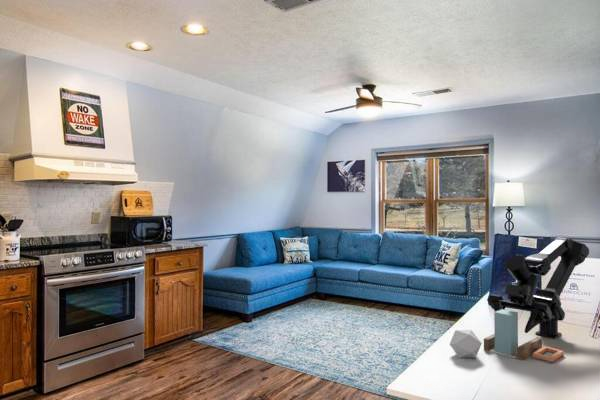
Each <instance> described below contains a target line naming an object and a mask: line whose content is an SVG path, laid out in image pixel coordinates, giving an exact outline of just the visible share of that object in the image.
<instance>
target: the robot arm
mask: <svg viewBox="0 0 600 400" xmlns="http://www.w3.org/2000/svg"><path fill="white" fill-rule="evenodd" d="M589 255H590V249H589V247H588V246H587V245H586V243H581V242H579V241H576V240H573V239H572V238H570V237H563V236H560V237H554V239H553V241H552V242H550V244H548V245H547V246H546V247H545V248H543V250H541V251H540V252H537V253H534V254H530V255H528V256H527V257H525V256H524V255H522V254H516V255H515V256H513V257H511V258H509V259H507V260H506V262H505V269H507V271H508V272H509V273H510V276H512V277H513V279H514V280H516V281H517V282H516V284H510V283H506V284H505V287H504V294H505V295H507V299H508V300H504V298H503V296H501V295H498V294H492V293H491V294H489V295H488V296H487V299H486V302H488V304H489V306H490V307H491V309H493V310H494V312H496V311H499V310H501V309H503V310H506V308H511V309H516V310H519V311H525V312H530V313H529V314H530V315H529V318H528V320H527V322H526V325H525V328H524V333H525V334H528V333H529V332H530V331H532V329H534V328H535V327H536V326H538V327H539V329H538V330H537V331H535V335H538V336H543V337H547V338H552V339H557V338H558V337H560V336H562V332H559V324H558V323H559V321H561V322H562V321H564V319H565V317H566V312H565V311H564V309H563V308H562V303H561V298H560V296H561V294H562V293H563V290H564V288H565V286H566V285H567V283H568V281H569V279H570V277H571V275H572V273H573V272H574V269H576V266H578V265H580V264H582V263H584V261H586V259H587V258H588V257H589ZM559 257H560V261H559V262H558V264H557V266H556V268H555V270H554V272H553V273H552V275H551V277H550V279H549V281H548V283H546V286H545V288H543V289H542V288H537V287H540V286H541V282H540V280H539V278H538V276H542V277H544V276H546V275H547V274H548V273H549V271H550V270H551V269H552V267H551V264H552V263H553V262H555V260H557V259H558V258H559ZM585 258H586V259H585ZM536 288H537V289H536Z"/></svg>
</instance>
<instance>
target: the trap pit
mask: <svg viewBox="0 0 600 400" xmlns="http://www.w3.org/2000/svg"><path fill="white" fill-rule="evenodd" d="M564 354H565V353H564V350H561V349H557V348H553V347H549V346H545V345H544V346H542V348H540V349H539V350H537V351H535V352H534V353H532V355H531V356H532V359H534V360H538V361H541V362H546V363H549V364H554V363H555V362H557V361H558V360H560V359H561V358H563V357H564Z"/></svg>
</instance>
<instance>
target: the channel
mask: <svg viewBox="0 0 600 400" xmlns="http://www.w3.org/2000/svg"><path fill="white" fill-rule="evenodd" d="M542 347H543V337H539V336H536V337H534V338H531V339H530V340H528V341H527V342H524V343H522V344H521V345H518V347H517V353H515V354H513V355H512V356H509V355H506V354H502V353H499V352H495V333H493V334H490V335H489V336H485V337H484V338H483V350H485V351H488V352H490V353H491V352H492V353H495V354H500V355H502V356H506V357H510V358H513V359H517V360H520V361H523V360H526V359H528V357H531V356H532V353H534V352H535V351H537V350H539V349H540V348H542Z"/></svg>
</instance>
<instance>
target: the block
mask: <svg viewBox="0 0 600 400" xmlns="http://www.w3.org/2000/svg"><path fill="white" fill-rule="evenodd" d="M493 314H494V318H493V319H494V321H493V322H494V334H495V352H499V353H502V354H506V355H509V356H512V355H513V354H515V353H517V347H519V315H518V312H517V311H512V310H507V309H505V310H503V309H501V310H499V311H496V312H495V311H494V313H493ZM495 352H494V353H495ZM502 354H501V355H502ZM506 355H505V356H506ZM509 356H508V357H509Z"/></svg>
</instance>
